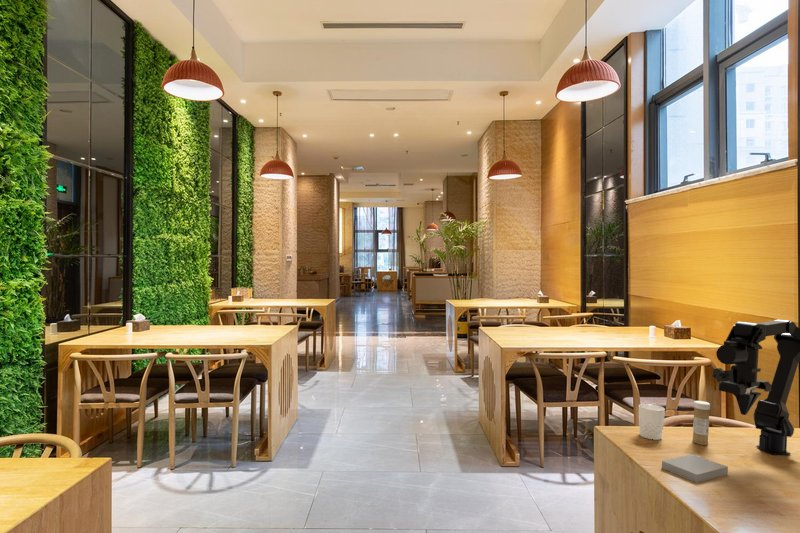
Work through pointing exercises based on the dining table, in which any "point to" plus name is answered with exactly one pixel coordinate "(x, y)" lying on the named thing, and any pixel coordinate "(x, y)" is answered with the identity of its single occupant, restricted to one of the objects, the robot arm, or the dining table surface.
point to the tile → (695, 468)
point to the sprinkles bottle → (701, 422)
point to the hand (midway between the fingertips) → (743, 414)
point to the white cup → (651, 421)
